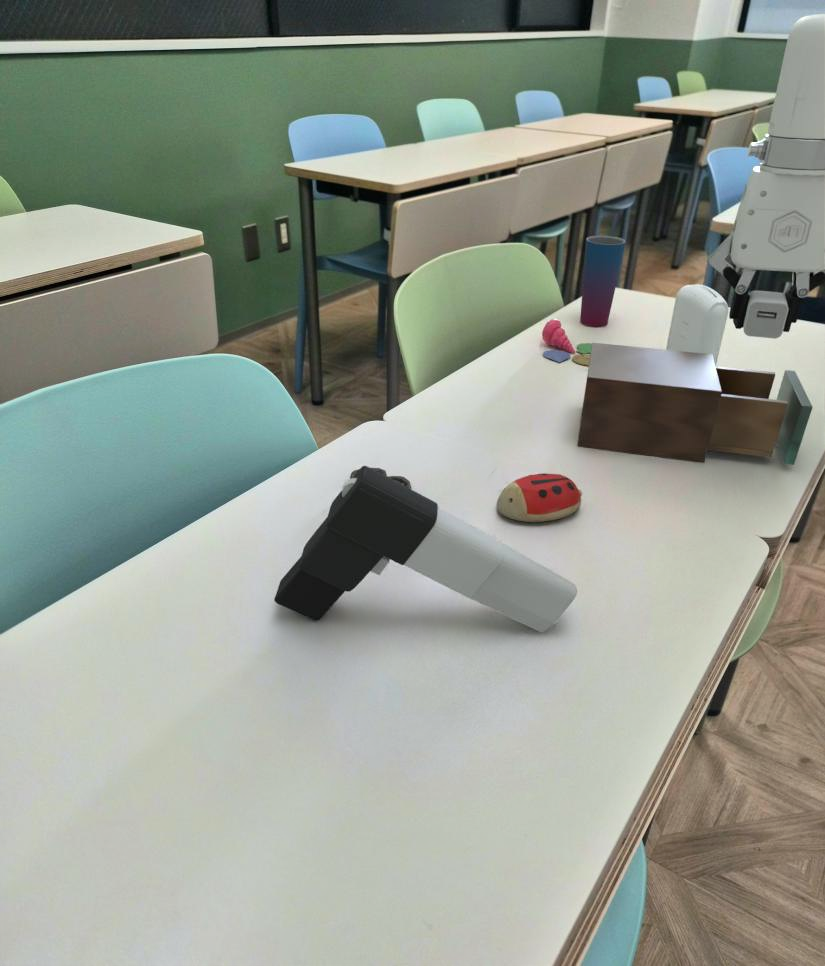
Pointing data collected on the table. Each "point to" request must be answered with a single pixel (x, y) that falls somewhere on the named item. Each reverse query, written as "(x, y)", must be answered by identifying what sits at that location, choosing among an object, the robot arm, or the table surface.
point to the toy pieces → (563, 344)
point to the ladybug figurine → (539, 498)
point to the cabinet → (649, 402)
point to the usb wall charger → (765, 314)
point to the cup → (600, 278)
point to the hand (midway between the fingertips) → (760, 325)
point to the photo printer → (698, 321)
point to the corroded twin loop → (396, 478)
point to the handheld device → (416, 555)
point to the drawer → (760, 414)
